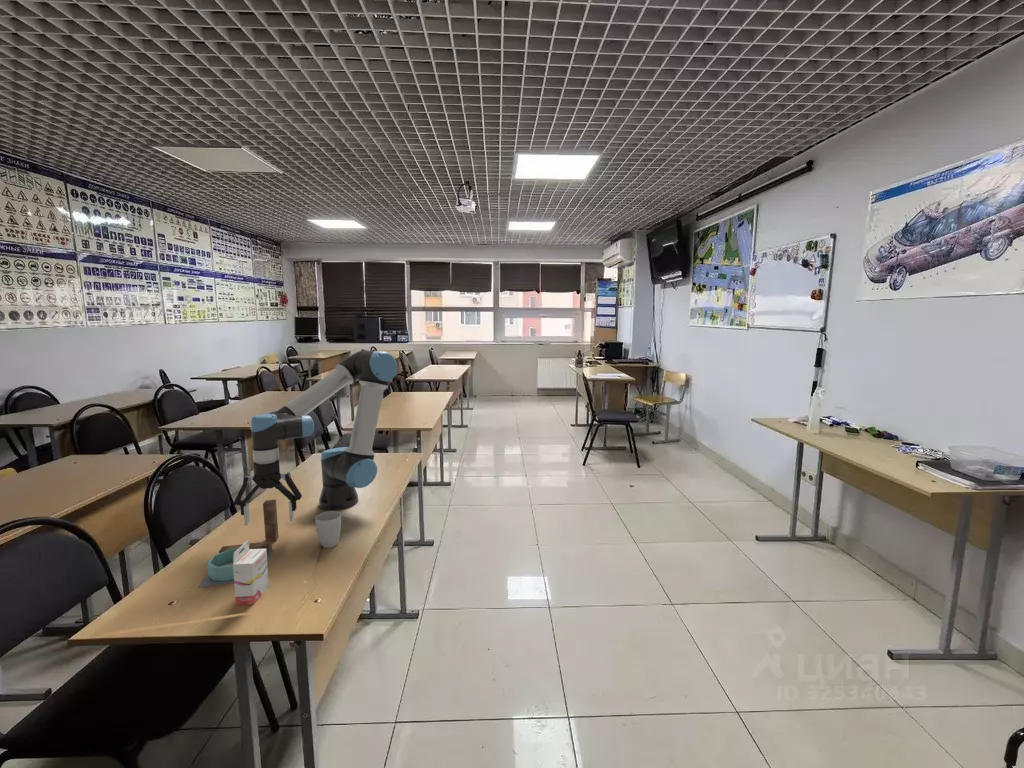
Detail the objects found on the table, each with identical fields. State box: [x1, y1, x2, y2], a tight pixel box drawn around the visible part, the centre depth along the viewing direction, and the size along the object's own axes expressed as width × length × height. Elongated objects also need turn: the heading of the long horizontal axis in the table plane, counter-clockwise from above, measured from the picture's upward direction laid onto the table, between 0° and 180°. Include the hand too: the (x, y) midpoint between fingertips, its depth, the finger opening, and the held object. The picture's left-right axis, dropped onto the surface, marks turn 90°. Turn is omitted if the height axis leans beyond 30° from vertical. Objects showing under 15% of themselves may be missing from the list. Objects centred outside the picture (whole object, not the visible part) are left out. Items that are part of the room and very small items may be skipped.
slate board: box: [198, 549, 275, 588], centre depth 135 cm, size 15×18×1 cm
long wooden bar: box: [218, 541, 273, 555], centre depth 141 cm, size 14×3×3 cm, turn 105°
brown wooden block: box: [262, 499, 280, 542], centre depth 152 cm, size 3×3×14 cm
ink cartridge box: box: [233, 539, 269, 606], centre depth 120 cm, size 9×5×15 cm, turn 5°
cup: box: [314, 510, 342, 549], centre depth 149 cm, size 8×8×10 cm
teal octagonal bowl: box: [206, 548, 250, 582], centre depth 132 cm, size 11×11×4 cm
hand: (269, 521), depth 151 cm, fingers open, 13 cm apart
